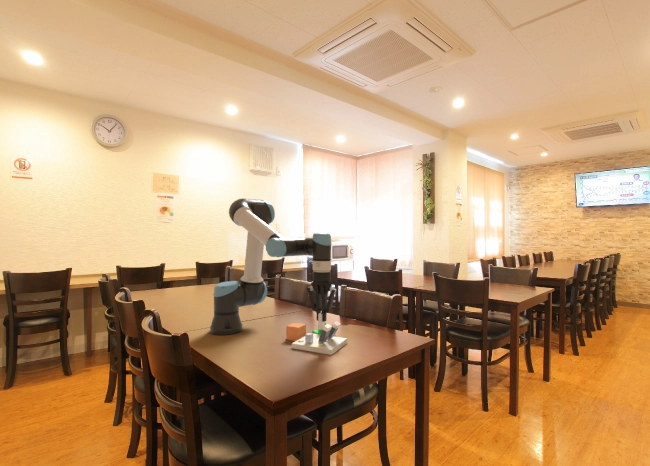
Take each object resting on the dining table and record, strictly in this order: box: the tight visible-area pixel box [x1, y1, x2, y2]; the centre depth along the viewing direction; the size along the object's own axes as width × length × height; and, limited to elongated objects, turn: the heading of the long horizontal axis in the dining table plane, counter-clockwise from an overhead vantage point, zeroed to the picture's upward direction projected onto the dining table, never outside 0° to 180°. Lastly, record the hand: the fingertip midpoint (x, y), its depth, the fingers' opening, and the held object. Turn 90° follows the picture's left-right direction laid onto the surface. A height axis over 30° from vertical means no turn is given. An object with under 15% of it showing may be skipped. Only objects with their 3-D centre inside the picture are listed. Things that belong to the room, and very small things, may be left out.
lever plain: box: [327, 320, 341, 340], centre depth 144 cm, size 2×4×8 cm, turn 154°
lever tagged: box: [318, 323, 332, 345], centre depth 138 cm, size 2×4×8 cm, turn 154°
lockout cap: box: [285, 322, 307, 342], centre depth 153 cm, size 6×6×6 cm
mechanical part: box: [312, 322, 336, 337], centre depth 156 cm, size 12×6×8 cm, turn 26°
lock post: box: [305, 332, 313, 344], centre depth 141 cm, size 2×2×4 cm
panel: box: [291, 333, 348, 356], centre depth 143 cm, size 18×17×2 cm
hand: (321, 328), depth 138 cm, fingers closed
